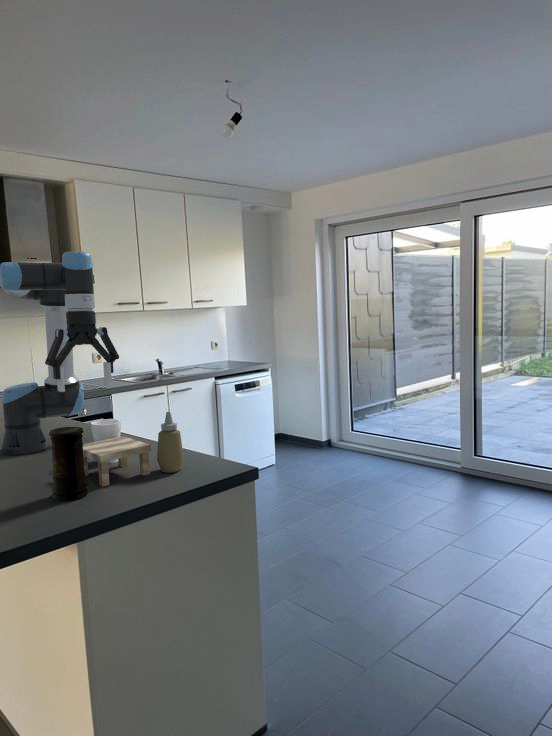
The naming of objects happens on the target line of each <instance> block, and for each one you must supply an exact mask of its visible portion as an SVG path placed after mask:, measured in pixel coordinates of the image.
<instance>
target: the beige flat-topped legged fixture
mask: <svg viewBox="0 0 552 736" xmlns="http://www.w3.org/2000/svg"><path fill="white" fill-rule="evenodd" d="M151 445H152V444H149V443H146V442H144V441H140V440H137V439H135V438H130V437H127V436H125V435H123V436H120V437H117V438H112V439H107V440H102V441H98V442H94V441H93V442H88V443H83V459H84V473H85V477H87V476H89V469H88V468H89V467H88V465H89V464H88V459H90V460H92V461H95V462H97V469H98V483H99V486H101V487H107V486H110V473H109V471H110V470H109V464H108V461H111V460H115V459H118V461H117V462H118V467H121V468H124V467H128V457H132V456H136V455H139V456H138V457H139V474H140V475H141V476H144V477H145V476H148V475H150V472H151V470H150V456H149V455H150V454H149V453H150V452H152V446H151Z"/></svg>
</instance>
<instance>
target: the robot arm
mask: <svg viewBox="0 0 552 736" xmlns="http://www.w3.org/2000/svg"><path fill="white" fill-rule="evenodd" d="M93 267H94V265H93V259H92V255H91V254H90V252H86V251H66V252H64V253H63V254H62V258H61V262H22V261H21V262H17V261H8V262H5V261H4V262H1V263H0V288H1V289H2V291H3V292H4V293H5V294H7V295H8V296H11V297H14V298H16V299H18V300H19V299H20V300H25V301H39V306H40V307H41V308H42V309H43V310H44V316H45V319H44V320H45V335H46V336H45V337H46V338H45V339H46V353H47V354H46V355H47V357H46V359H45V361H44V364H45V365H47V372H48V373H47V374H48V376H47V377H46V378H45V379H44V381H43V383H44V384H43V385H40V386H39V383H37V382H34V381H33V382H25V383H20V384H19V383H18V384H15V385H10V386H8V387H6V388H4V389H3V391H2V393H1V397H2V401H1V404H2V408H3V410H2V411H3V424H4V425H3V426H4V430H3V431H4V432H3V436H2V438H1V439H2V440H1V442H0V443H1V444H0V453H1V454H3V455H9V456H13V455H14V456H17V455H27V454H32V453H38V452H41V451H43V450H46V449H47V448H48V440H47V438H46V435H45V433H44V431H43V429H42V425H41V419H49V418H50V419H51V418H59V417H70V416H74V415H79V414H80V413H81V412H82V410H83V406H84V400H85V399H84V397H85V392H84V391H85V390H84V384H83V383H81V382H80V381H79V378H78V377H77V376H76V375H75V371H74V370H75V368H74V351H73V350H74V347H76V346H83V345H90V346H92V347H93V348H94V349H95V351H97V353H98V354H99V355H100V356H101V357H102V358H103V359H104V360H105V361H103V363H102V364H103V380H104V382H103V383H104V386H108V387H111V386H113V385H112V384H113V383H112V374H113V373H114V372H115V370H114V363H115V362H116V360H119V359H120V355H119V353H118V351H117V349H116V348H115V346H114V344H113V341H112V340H111V338H110V336H109V334H108V329H107V327H104V326H103V327H102V326H100V327H98V328H97V326H96V324H97V321H96V320H97V318H96V317H97V316H96V312H95V310H93V309H95V308H96V305H95V291H94V289H95V288H94V273H93V272H94V270H93V269H94V268H93ZM97 335H98V336H99V337H100V340H101V341H102V343H103V345H104V346H103V345H102V344H101V343H100V341H99V340H98V338H97V337H96V336H97ZM104 347H105V348H104Z"/></svg>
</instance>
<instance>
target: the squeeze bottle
mask: <svg viewBox="0 0 552 736" xmlns="http://www.w3.org/2000/svg"><path fill="white" fill-rule="evenodd" d="M164 418H165V419H164V422H163V423H161V424H160V429H161V430H160V431H159V432H158V433H157V435H158V437H157V449H156V450H157V453H156V461H157V463H158V466H159V468H160V469H159V470H160V471H161V472H162V473H176V472H179V471H181V469H182V467H183V464H184V459H185V458H184V451H183V449H184V448H183V443H182V437H181V431H180V430H179V429H178V423H177V422H173V421H174V420H173V417H172V413H171V411H166V413H165V417H164Z"/></svg>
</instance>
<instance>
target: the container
mask: <svg viewBox="0 0 552 736" xmlns="http://www.w3.org/2000/svg"><path fill="white" fill-rule="evenodd" d="M83 433H84V429H83V427H80V426H63V427H62V426H61V427H57V428H53V429H51V430H49V432H48V435H49V436H50V440H51V448H50V449H51V454H52V455H51V459H52V471H53V477H52V480H53V486H52V491H53V492H52V493H51V494H52V499H53V500H54V501H56V502H72V501H76V500H80V499H81V500H82V499H83V498H85V497H86V496H87V495H88V493H89V489H88V488H87V487H88V484H87V483H86V476H85V473H84V459H83V444H84V443H83V436H84V435H83Z"/></svg>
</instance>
